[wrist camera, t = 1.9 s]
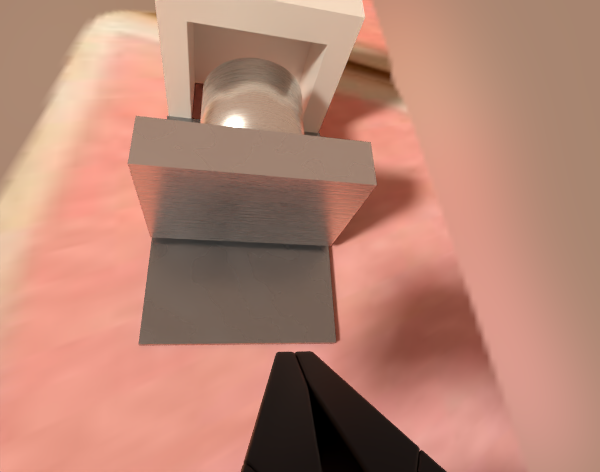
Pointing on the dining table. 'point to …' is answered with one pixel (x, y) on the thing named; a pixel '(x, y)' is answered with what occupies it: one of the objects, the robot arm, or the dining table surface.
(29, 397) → the dining table surface
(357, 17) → the socket
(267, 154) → the grey piece
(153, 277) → the plate
